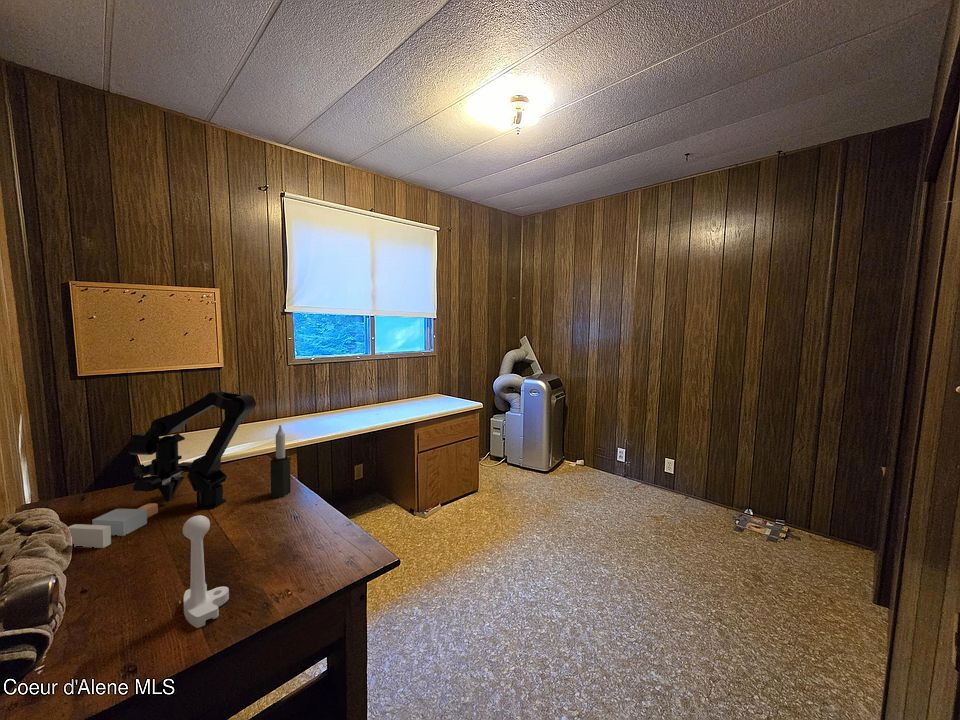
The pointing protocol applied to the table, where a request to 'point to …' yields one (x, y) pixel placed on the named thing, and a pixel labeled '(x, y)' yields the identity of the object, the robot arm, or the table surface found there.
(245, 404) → the robot arm
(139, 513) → the sled
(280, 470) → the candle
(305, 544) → the table surface
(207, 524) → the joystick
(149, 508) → the tan rectangular brick
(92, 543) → the wall
